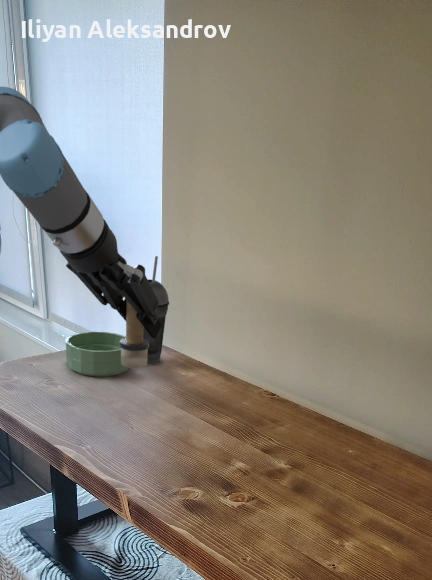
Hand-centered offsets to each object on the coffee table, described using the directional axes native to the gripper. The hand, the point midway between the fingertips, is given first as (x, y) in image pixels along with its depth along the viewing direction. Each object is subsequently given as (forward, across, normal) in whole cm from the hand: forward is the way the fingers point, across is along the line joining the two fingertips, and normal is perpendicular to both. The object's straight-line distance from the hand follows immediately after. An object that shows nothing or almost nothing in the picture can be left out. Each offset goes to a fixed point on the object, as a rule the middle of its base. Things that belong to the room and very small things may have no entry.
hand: (148, 329), depth 106 cm
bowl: (+10, -13, -5) cm, 17 cm away
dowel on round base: (+1, 0, -6) cm, 6 cm away
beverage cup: (+16, -8, +1) cm, 18 cm away
